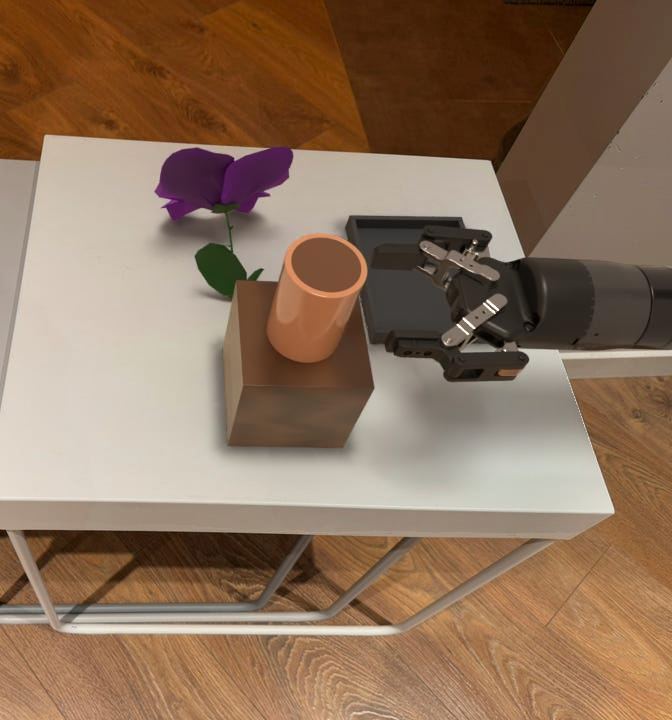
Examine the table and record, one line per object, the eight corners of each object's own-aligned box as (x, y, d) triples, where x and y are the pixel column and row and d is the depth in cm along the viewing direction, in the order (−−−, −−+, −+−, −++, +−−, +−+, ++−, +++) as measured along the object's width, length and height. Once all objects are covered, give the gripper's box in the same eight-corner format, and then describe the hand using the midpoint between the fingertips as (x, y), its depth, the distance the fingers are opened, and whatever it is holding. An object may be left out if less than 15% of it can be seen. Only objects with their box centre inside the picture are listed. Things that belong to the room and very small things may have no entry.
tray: (492, 343, 81) (500, 332, 79) (370, 343, 80) (375, 332, 78) (455, 228, 90) (462, 216, 88) (345, 227, 89) (349, 214, 87)
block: (329, 351, 79) (356, 283, 70) (342, 447, 73) (375, 388, 64) (222, 348, 78) (236, 279, 69) (227, 445, 72) (243, 385, 63)
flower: (286, 299, 89) (266, 185, 89) (332, 272, 74) (308, 136, 75) (161, 316, 86) (143, 198, 87) (183, 292, 71) (160, 150, 72)
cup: (354, 333, 67) (384, 266, 59) (308, 376, 64) (333, 311, 56) (297, 290, 69) (319, 220, 61) (250, 330, 66) (267, 262, 58)
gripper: (569, 209, 64) (379, 201, 63) (623, 351, 57) (408, 344, 56) (529, 267, 71) (355, 260, 70) (573, 402, 63) (379, 397, 62)
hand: (379, 297), depth 63 cm, fingers open, 8 cm apart
